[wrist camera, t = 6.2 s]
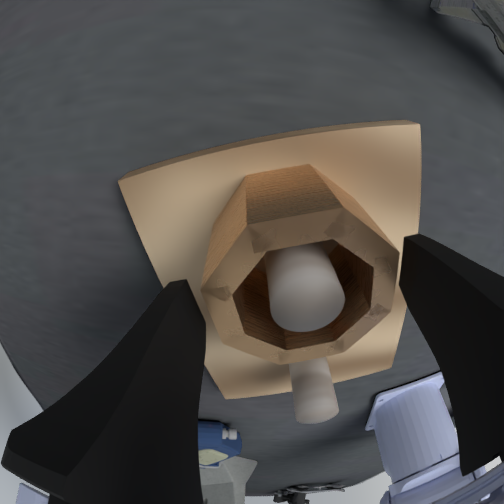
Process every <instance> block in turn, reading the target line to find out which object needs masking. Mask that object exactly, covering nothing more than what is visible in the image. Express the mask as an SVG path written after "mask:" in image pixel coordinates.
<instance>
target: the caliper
mask: <svg viewBox="0 0 504 504" xmlns="http://www.w3.org/2000/svg"><path fill="white" fill-rule="evenodd" d="M430 8H432V9H433V10H434V11H436V12H437V13H439V14H443V15H447V16H452V17H456V18H460V19H464V20H467V21H471V22H474V23H478V24H481V25H484V26H487V27H489V28H490V30H491V31H492V32H493V33H494V38H495V41H496V44H497V47H498V49H499V50H500V51H501V52H502V53H503V54H504V0H432V1H431V5H430Z"/></svg>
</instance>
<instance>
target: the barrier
mask: <svg viewBox="0 0 504 504" xmlns="http://www.w3.org/2000/svg"><path fill="white" fill-rule="evenodd" d="M256 466H257V461H254V460H250V459H245V458H241V457H237V456H234V457H231V458H229V459H226V460H225V462H224V463H223V464H221V466H220V467H219V468H205V469H201V468H200V478H201V488H202V495H203V501H204V504H244V501H245V484H246V482H247V480H248V479H249V477H250V476H251V474H252V472H253V471H254V469H255V467H256Z"/></svg>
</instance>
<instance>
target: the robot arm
mask: <svg viewBox="0 0 504 504" xmlns="http://www.w3.org/2000/svg"><path fill="white" fill-rule="evenodd" d="M399 287H400V289H401V292H402V294H403V297H404V299H405V301H406V304H407V306H408V308H409V310H410V312H411V314H412V316H413V317H414V319H415V321H416V323H417V325H418V326H419V328H420V330H421V332H422V334H423V335H424V337H425V339H426V341H427V343H428V345H429V347H430V348H431V350H432V352H433V354H434V356H435V358H436V360H437V363H438V365H439V367H440V370H441V372H439V373H436V374H434V375H431V376H429V377H426V378H423V379H421V380H418V381H415V382H412V383H410V384H407V385H404V386H401V387H398V388H395V389H392V390H388V391H385V392H382V393H379V394H378V395H377V396H376V398H375V401H374V404H373V407H372V410H371V413H370V416H369V419H368V421H367V424H366V427H365V429H366V430H367V431H368V430H372V429H374V431H375V435H376V439H377V442H378V446H379V450H380V455H381V459H382V463H383V467H384V470H385V471H386V473H387V474H388V475H389V476H390V477H391V479H392V483H393V484H392V485H390V486H389V491H386V492H385V494H384V496H383V497H382V499H381V501H380V504H504V277H503V276H501V275H499V274H497V273H495V272H493V271H491V270H489V269H487V268H485V267H483V266H481V265H479V264H477V263H476V262H474V261H472V260H470V259H468V258H466V257H465V256H463V255H461V254H459V253H457V252H455V251H454V250H452V249H450V248H448V247H446V246H444V245H442V244H440V243H439V242H437V241H435V240H433V239H430V238H428V237H426V236H424V235H421V234H414V235H410V236H405V237H404V241H403V252H402V261H401V270H400V278H399ZM205 353H206V321H205V319H204V317H203V315H202V313H201V310H200V308H199V306H198V304H197V301H196V299H195V297H194V295H193V292H192V290H191V288H190V285H189V283H188V281H187V279H183V280H177V281H172V282H169V283H168V284H167V285H166V286H165V288H164V289H163V290H162V291H161V292H160V294H159V295H158V296H157V297H156V298H155V300H154V301H153V302H152V303H151V305H150V306H149V307H148V309H147V310H146V311H145V312H144V313H143V315H142V316H141V317H140V318H139V320H138V321H137V322H136V324H135V325H134V326H133V327H132V328H131V329H130V331H129V332H128V333H127V334H126V335H125V336H124V338H123V339H122V340H121V341H120V342H119V344H118V345H117V346H116V347H115V348H114V349H113V350H112V352H111V353H110V354H109V355H108V356H107V357H106V358H105V359H104V360H103V361H102V362H101V363H100V364H99V365H98V366H97V367H96V368H95V369H94V370H93V371H92V372H91V373H90V374H89V375H88V376H87V377H86V378H84V379H83V380H82V381H81V382H80V383H79V384H78V385H76V386H75V387H74V388H73V389H72V390H71V391H70V392H68V393H67V394H66V395H65V396H64V397H62V398H61V399H60V400H58V401H57V402H56V403H54V404H53V405H52V406H50V407H49V408H47V409H46V410H44V411H43V412H42V413H40V414H38V415H37V416H35V417H34V418H32V419H30V420H29V421H27V422H25V423H23V424H22V425H20V426H18V427H17V428H15V429H13V430H12V431H11V433H10V435H9V438H8V441H7V444H6V447H5V450H4V454H3V457H2V461H1V464H2V466H3V467H4V468H5V469H7V470H8V471H10V472H11V473H13V474H15V475H16V476H18V477H20V478H21V479H23V480H25V481H26V482H28V483H30V484H32V485H34V486H35V487H37V488H39V489H41V490H43V491H45V492H47V493H49V494H50V496H47V495H45V494H43V493H41V492H39V491H38V490H35V489H34V488H31V487H29V486H27V485H25V484H23V483H20V485H19V490H18V495H17V500H16V504H204V501H203V495H202V488H201V478H200V468H199V450H198V409H199V400H200V392H201V384H202V377H203V369H204V361H205ZM444 381H445V385H446V388H447V391H448V394H449V398H450V402H451V406H452V410H453V414H454V419H455V425H456V430H457V434H456V431H455V428H454V425H453V423H452V420H451V418H450V415H449V413H448V410H447V408H446V405H445V403H444V400H443V398H442V396H441V393H440V391H439V389H440V387H441V386H442V384H443V382H444ZM498 456H500V458H501V461H502V463H500V464H499V465H497V466H496V467H495V468H493V469H491V470H490V471H488V472H487V473H486V470H485V467H484V465H486V464H487V463H489V462H490V461H492V460H494V459H495V458H497V457H498Z"/></svg>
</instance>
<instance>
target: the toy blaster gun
mask: <svg viewBox="0 0 504 504" xmlns="http://www.w3.org/2000/svg"><path fill="white" fill-rule="evenodd" d="M241 448H242V440H241V438H240V434H239V433H238V432H237V429H231V428H229V427H227V426H226V425H224V424H222V423H221V422H209V421H198V450H199V468H201V469H205V468H219V467H220V466H221V464H223V463H224V462H225V460H226V459H229V458H231V457H234V456H236V455H239V454H240V452H241Z"/></svg>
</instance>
